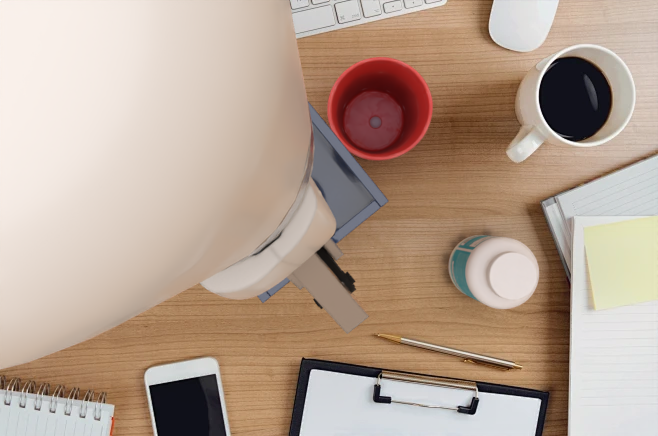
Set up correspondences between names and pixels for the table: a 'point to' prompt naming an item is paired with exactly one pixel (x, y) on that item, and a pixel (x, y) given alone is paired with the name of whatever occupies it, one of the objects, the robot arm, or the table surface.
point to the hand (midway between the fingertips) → (253, 178)
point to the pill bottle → (494, 270)
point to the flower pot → (380, 108)
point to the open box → (338, 185)
